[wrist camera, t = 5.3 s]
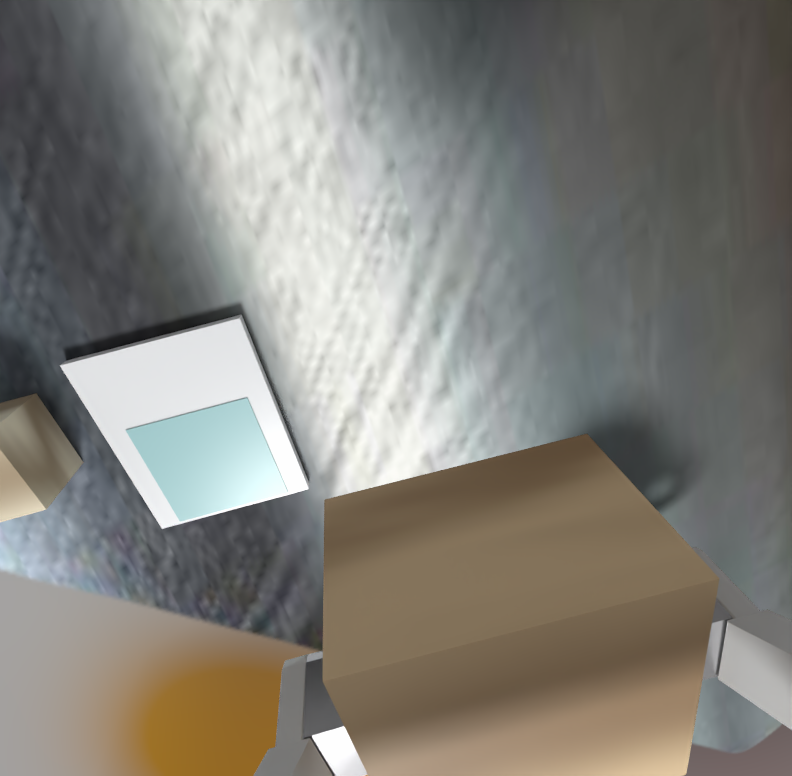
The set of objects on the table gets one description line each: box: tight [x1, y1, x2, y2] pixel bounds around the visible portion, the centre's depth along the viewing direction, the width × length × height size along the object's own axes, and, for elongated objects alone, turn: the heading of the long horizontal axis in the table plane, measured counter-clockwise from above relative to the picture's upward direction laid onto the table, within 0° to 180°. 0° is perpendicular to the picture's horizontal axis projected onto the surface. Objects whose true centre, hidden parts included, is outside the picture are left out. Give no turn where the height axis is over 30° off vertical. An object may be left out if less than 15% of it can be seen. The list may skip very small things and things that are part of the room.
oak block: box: [323, 434, 720, 776], centre depth 10 cm, size 6×6×4 cm
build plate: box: [60, 315, 309, 529], centre depth 26 cm, size 11×9×1 cm
